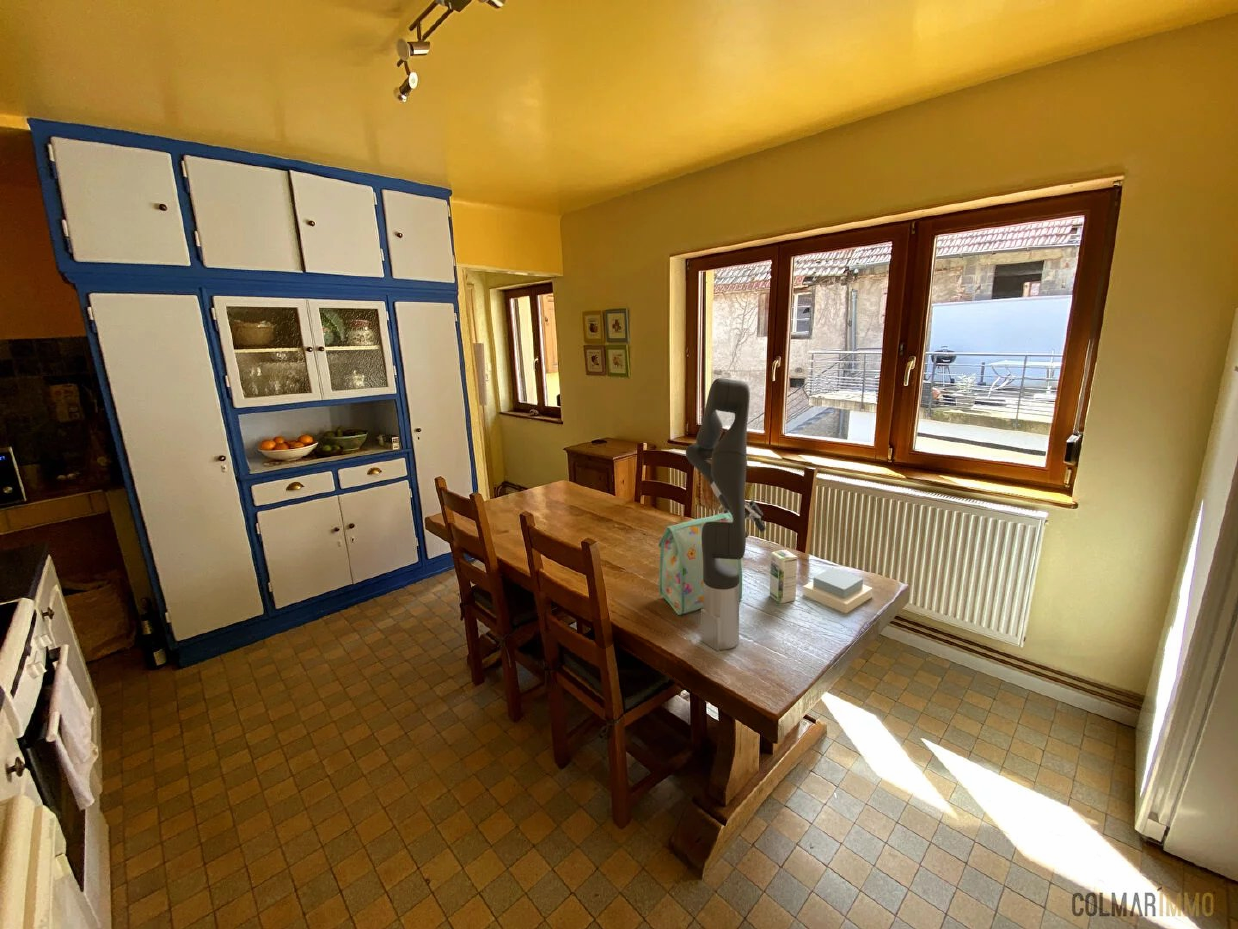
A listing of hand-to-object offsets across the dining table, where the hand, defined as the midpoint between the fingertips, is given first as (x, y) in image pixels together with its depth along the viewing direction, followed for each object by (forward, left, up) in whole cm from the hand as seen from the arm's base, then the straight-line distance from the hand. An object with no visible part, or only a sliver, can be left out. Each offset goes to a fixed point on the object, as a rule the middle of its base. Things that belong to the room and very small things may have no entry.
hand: (754, 534), depth 158 cm
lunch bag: (-19, +5, -18) cm, 26 cm away
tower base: (+13, -21, -18) cm, 30 cm away
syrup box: (0, -11, -18) cm, 21 cm away
